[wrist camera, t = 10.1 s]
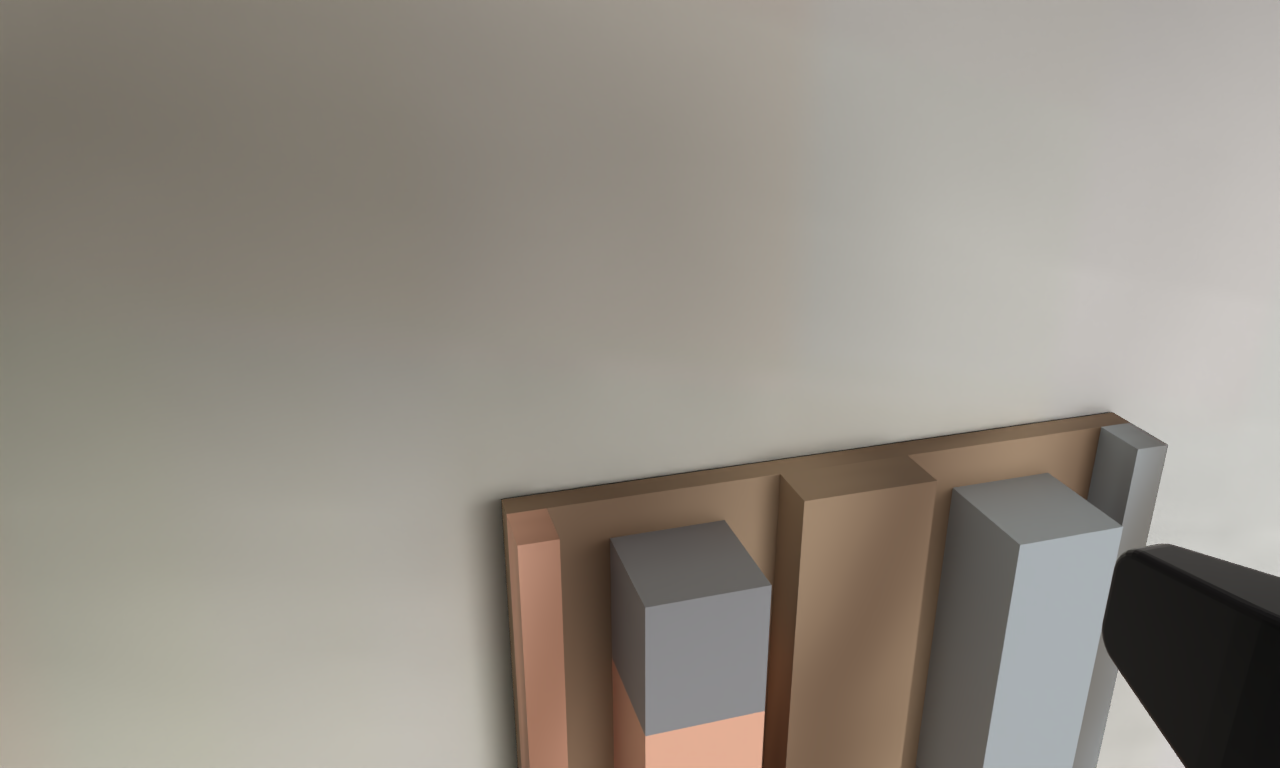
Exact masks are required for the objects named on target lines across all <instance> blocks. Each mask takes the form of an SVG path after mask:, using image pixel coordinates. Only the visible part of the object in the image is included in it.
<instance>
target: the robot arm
mask: <svg viewBox="0 0 1280 768" xmlns="http://www.w3.org/2000/svg"><path fill="white" fill-rule="evenodd" d="M1102 638H1103V642H1104V646H1105V648H1106V650H1107V653H1108V655H1109V656H1110V658H1111V660H1112V661H1113V662H1114V664H1115V665H1116V667H1117V668H1118V670H1119V671H1120V673H1121V674H1122V676H1123V677H1124V679H1125V680H1126V681H1127V683H1128V684H1129V686H1130V687H1131V689H1132V690H1133V692H1134V693H1135V695H1136V696H1137V698H1138V699H1139V700H1140V702H1141V703H1142V705H1143V706H1144V708H1145V709H1146V711H1147V712H1148V714H1149V715H1150V717H1151V718H1152V719H1153V721H1154V722H1155V724H1156V725H1157V727H1158V728H1159V730H1160V731H1161V733H1162V734H1163V736H1164V737H1165V738H1166V740H1167V741H1168V743H1169V744H1170V746H1171V747H1172V749H1173V750H1174V752H1175V753H1176V755H1177V756H1178V757H1179V759H1180V760H1181V762H1182V763H1183V765H1184V766H1185V768H1280V577H1277V576H1274V575H1271V574H1267V573H1264V572H1261V571H1257V570H1254V569H1251V568H1248V567H1244V566H1241V565H1238V564H1234V563H1231V562H1228V561H1225V560H1221V559H1218V558H1215V557H1211V556H1208V555H1205V554H1201V553H1198V552H1195V551H1192V550H1188V549H1185V548H1182V547H1178V546H1175V545H1171V544H1155V545H1150V546H1145V547H1139V548H1134V549H1130V550H1127V551H1125V552H1124V553H1122V554H1121V555H1120V557H1119V558H1118V560H1117V561H1116V563H1115V566H1114V571H1113V575H1112V580H1111V585H1110V589H1109V594H1108V599H1107V604H1106V608H1105V613H1104V618H1103V623H1102Z"/></svg>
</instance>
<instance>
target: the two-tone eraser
mask: <svg viewBox="0 0 1280 768" xmlns="http://www.w3.org/2000/svg"><path fill="white" fill-rule="evenodd" d="M610 568H611V626H612V684H613V741H614V768H762V751H763V733H764V715H765V697H766V679H767V661H768V643H769V625H770V607H771V589H772V585H771V584H770V582H769V581H768V579H767V578H766V577H765V575H764V574H763V572H762V571H761V570H760V568H759V567H758V565H757V564H756V563H755V561H754V560H753V559H752V557H751V556H750V554H749V553H748V552H747V550H746V549H745V547H744V546H743V545H742V543H741V542H740V541H739V539H738V538H737V536H736V535H735V534H734V532H733V531H732V529H731V528H730V527H729V525H728V524H727V522H726V521H725V520H722V521H715V522H709V523H703V524H696V525H690V526H684V527H678V528H671V529H665V530H659V531H652V532H646V533H640V534H634V535H627V536H621V537H615V538H610Z"/></svg>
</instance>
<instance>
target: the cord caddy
mask: <svg viewBox="0 0 1280 768" xmlns="http://www.w3.org/2000/svg"><path fill="white" fill-rule="evenodd" d="M1167 448H1168V444H1166V443H1164V442H1162V441H1161V440H1159V439H1157V438H1156V437H1154V436H1152V435H1150V434H1149V433H1147V432H1145V431H1144V430H1142V429H1140V428H1139V427H1137V426H1135V425H1133V424H1132V423H1130V422H1128V421H1127V420H1125V419H1123V418H1121V417H1120V416H1118V415H1116V414H1115V413H1113V412H1111V413H1104V414H1097V415H1090V416H1083V417H1076V418H1069V419H1062V420H1055V421H1048V422H1041V423H1034V424H1027V425H1020V426H1013V427H1006V428H999V429H992V430H985V431H978V432H971V433H964V434H957V435H950V436H943V437H936V438H929V439H922V440H915V441H908V442H901V443H894V444H887V445H880V446H873V447H866V448H859V449H852V450H845V451H838V452H831V453H824V454H817V455H810V456H803V457H796V458H789V459H782V460H775V461H768V462H761V463H754V464H747V465H740V466H733V467H726V468H719V469H712V470H705V471H698V472H691V473H684V474H677V475H670V476H663V477H656V478H649V479H642V480H635V481H628V482H621V483H614V484H607V485H600V486H593V487H586V488H579V489H572V490H565V491H558V492H551V493H544V494H537V495H530V496H523V497H516V498H509V499H502V500H501V502H502V518H503V534H504V551H505V567H506V583H507V599H508V616H509V632H510V648H511V664H512V681H513V697H514V713H515V729H516V746H517V762H518V768H614V741H613V684H612V626H611V568H610V538H615V537H621V536H627V535H634V534H640V533H646V532H652V531H659V530H665V529H671V528H678V527H684V526H690V525H696V524H703V523H709V522H715V521H722V520H725V521H726V522H727V524H728V525H729V527H730V528H731V529H732V531H733V532H734V534H735V535H736V536H737V538H738V539H739V541H740V542H741V543H742V545H743V546H744V547H745V549H746V550H747V552H748V553H749V554H750V556H751V557H752V559H753V560H754V561H755V563H756V564H757V565H758V567H759V568H760V570H761V571H762V572H763V574H764V575H765V577H766V578H767V579H768V581H769V582H770V584H771V585H772V589H771V607H770V625H769V643H768V661H767V679H766V697H765V715H764V733H763V751H762V768H915V766H916V758H917V751H918V743H919V736H920V729H921V721H922V714H923V706H924V699H925V691H926V684H927V676H928V669H929V661H930V654H931V646H932V639H933V632H934V624H935V617H936V609H937V602H938V594H939V587H940V579H941V572H942V564H943V557H944V549H945V542H946V535H947V527H948V520H949V512H950V505H951V497H952V490H953V488H954V487H961V486H967V485H973V484H980V483H986V482H993V481H999V480H1005V479H1012V478H1018V477H1024V476H1031V475H1037V474H1043V473H1049V474H1051V475H1052V476H1053V477H1055V478H1056V479H1058V480H1059V481H1060V482H1062V483H1063V484H1064V485H1066V486H1067V487H1069V488H1070V489H1071V490H1073V491H1074V492H1076V493H1077V494H1078V495H1080V496H1081V497H1083V498H1084V499H1085V500H1087V501H1088V502H1090V503H1091V504H1092V505H1094V506H1095V507H1096V508H1098V509H1099V510H1101V511H1102V512H1103V513H1105V514H1106V515H1108V516H1109V517H1110V518H1112V519H1113V520H1115V521H1116V522H1117V523H1119V524H1120V525H1122V526H1123V530H1122V535H1121V540H1120V545H1119V549H1118V554H1117V559H1116V561H1117V560H1118V558H1119V557H1120V555H1121V554H1122V553H1124V552H1125V551H1127V550H1130V549H1134V548H1139V547H1145V546H1146V542H1147V538H1148V533H1149V529H1150V524H1151V520H1152V515H1153V511H1154V506H1155V502H1156V497H1157V493H1158V488H1159V484H1160V479H1161V475H1162V470H1163V466H1164V461H1165V457H1166V452H1167ZM1117 672H1118V668H1117V667H1116V665H1115V664H1114V662H1113V661H1112V660H1111V658H1110V656H1109V655H1108V653H1107V650H1106V648H1105V646H1104V642H1103V638H1102V630H1101V635H1100V639H1099V644H1098V649H1097V653H1096V658H1095V663H1094V668H1093V672H1092V677H1091V682H1090V687H1089V691H1088V696H1087V701H1086V706H1085V710H1084V715H1083V720H1082V724H1081V729H1080V734H1079V739H1078V743H1077V748H1076V753H1075V758H1074V762H1073V767H1072V768H1096V766H1097V762H1098V757H1099V753H1100V748H1101V744H1102V739H1103V735H1104V730H1105V726H1106V721H1107V717H1108V712H1109V708H1110V703H1111V699H1112V695H1113V690H1114V686H1115V681H1116V677H1117Z"/></svg>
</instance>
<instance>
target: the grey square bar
mask: <svg viewBox="0 0 1280 768" xmlns="http://www.w3.org/2000/svg"><path fill="white" fill-rule="evenodd" d="M1122 530H1123V526H1122V525H1120V524H1119V523H1117V522H1116V521H1115V520H1113V519H1112V518H1110V517H1109V516H1108V515H1106V514H1105V513H1103V512H1102V511H1101V510H1099V509H1098V508H1096V507H1095V506H1094V505H1092V504H1091V503H1090V502H1088V501H1087V500H1085V499H1084V498H1083V497H1081V496H1080V495H1078V494H1077V493H1076V492H1074V491H1073V490H1071V489H1070V488H1069V487H1067V486H1066V485H1064V484H1063V483H1062V482H1060V481H1059V480H1058V479H1056V478H1055V477H1053V476H1052V475H1051V474H1049V473H1043V474H1037V475H1031V476H1024V477H1018V478H1012V479H1005V480H999V481H993V482H986V483H980V484H973V485H967V486H961V487H954V488H953V490H952V497H951V505H950V512H949V520H948V527H947V535H946V542H945V549H944V557H943V564H942V572H941V579H940V587H939V594H938V602H937V609H936V617H935V624H934V632H933V639H932V646H931V654H930V661H929V669H928V676H927V684H926V691H925V699H924V706H923V714H922V721H921V729H920V736H919V743H918V751H917V758H916V766H915V768H1072V767H1073V762H1074V758H1075V753H1076V748H1077V743H1078V739H1079V734H1080V729H1081V724H1082V720H1083V715H1084V710H1085V706H1086V701H1087V696H1088V691H1089V687H1090V682H1091V677H1092V672H1093V668H1094V663H1095V658H1096V653H1097V649H1098V644H1099V639H1100V635H1101V630H1102V623H1103V618H1104V613H1105V608H1106V604H1107V599H1108V594H1109V589H1110V585H1111V580H1112V575H1113V571H1114V566H1115V563H1116V559H1117V554H1118V549H1119V545H1120V540H1121V535H1122Z"/></svg>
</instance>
